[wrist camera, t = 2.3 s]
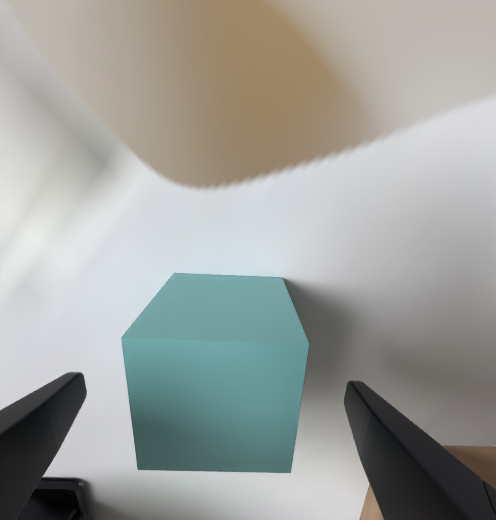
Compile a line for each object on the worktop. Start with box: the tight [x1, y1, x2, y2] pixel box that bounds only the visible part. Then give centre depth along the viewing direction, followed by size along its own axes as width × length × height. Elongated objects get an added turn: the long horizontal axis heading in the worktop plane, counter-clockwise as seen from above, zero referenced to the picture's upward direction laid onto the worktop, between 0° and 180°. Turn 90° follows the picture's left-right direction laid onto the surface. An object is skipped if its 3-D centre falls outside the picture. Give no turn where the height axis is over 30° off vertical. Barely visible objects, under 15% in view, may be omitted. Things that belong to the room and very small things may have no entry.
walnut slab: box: [360, 446, 496, 520], centre depth 15 cm, size 8×8×3 cm
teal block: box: [121, 273, 309, 473], centre depth 10 cm, size 5×5×5 cm
